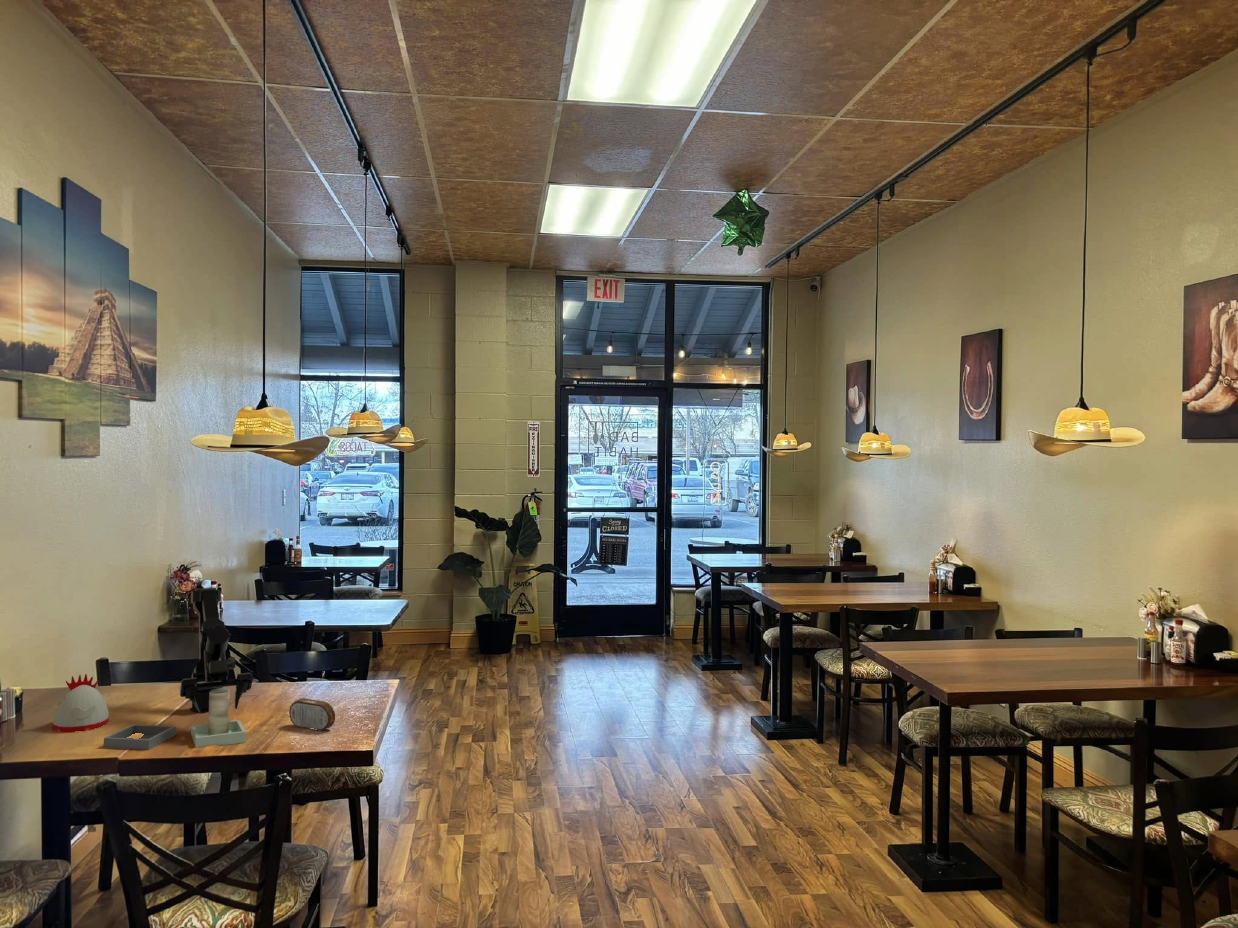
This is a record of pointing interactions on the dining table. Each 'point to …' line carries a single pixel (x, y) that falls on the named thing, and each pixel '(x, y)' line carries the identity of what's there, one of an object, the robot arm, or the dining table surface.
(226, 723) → the beige cylinder
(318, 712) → the tin
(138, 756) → the dining table surface
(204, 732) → the sage bin
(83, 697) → the grey and red dome
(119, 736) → the charcoal bin
